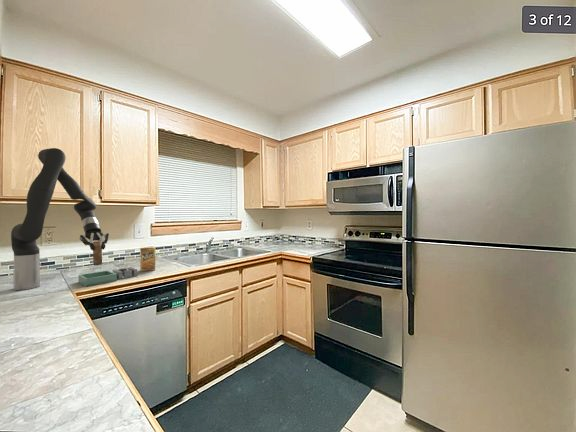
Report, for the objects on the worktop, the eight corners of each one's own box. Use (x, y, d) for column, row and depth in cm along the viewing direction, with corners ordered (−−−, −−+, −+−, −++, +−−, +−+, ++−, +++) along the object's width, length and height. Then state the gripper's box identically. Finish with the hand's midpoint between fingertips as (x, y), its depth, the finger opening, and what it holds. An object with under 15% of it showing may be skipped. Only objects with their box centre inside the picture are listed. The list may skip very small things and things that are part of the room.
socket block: (118, 279, 146) (118, 272, 146) (112, 276, 152) (112, 269, 152) (137, 275, 154) (137, 269, 154) (130, 273, 160) (130, 267, 160)
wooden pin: (94, 265, 138) (94, 242, 138) (92, 264, 141) (91, 241, 140) (103, 264, 142) (102, 241, 141) (100, 263, 144) (100, 240, 144)
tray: (86, 286, 131) (85, 279, 131) (78, 282, 140) (78, 274, 140) (116, 280, 143) (116, 273, 142) (108, 276, 151) (107, 270, 151)
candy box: (140, 271, 165) (140, 248, 165) (140, 270, 169) (140, 247, 169) (155, 270, 169) (155, 247, 169) (155, 268, 173) (155, 246, 173)
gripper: (77, 222, 140) (84, 246, 132) (107, 221, 151) (115, 243, 144) (74, 231, 143) (81, 255, 136) (104, 229, 154) (112, 251, 147)
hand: (98, 248), depth 140 cm, fingers closed on wooden pin, 4 cm apart
